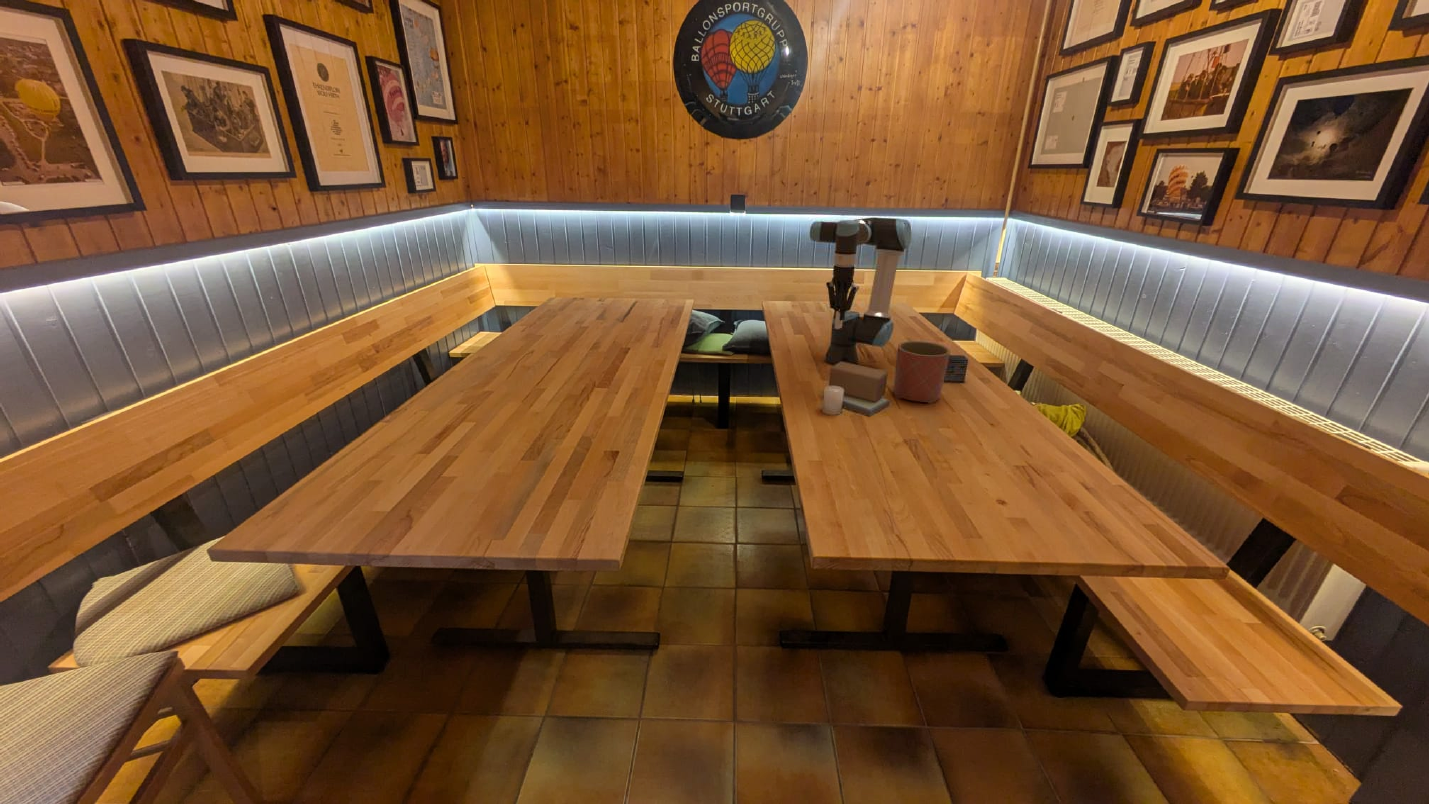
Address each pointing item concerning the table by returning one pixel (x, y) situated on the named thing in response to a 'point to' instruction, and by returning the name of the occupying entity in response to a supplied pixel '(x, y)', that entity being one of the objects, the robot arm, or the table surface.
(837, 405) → the white rounded cylinder
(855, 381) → the wooden block
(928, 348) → the planter
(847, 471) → the table surface
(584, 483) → the table surface
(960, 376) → the small box
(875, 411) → the grey rectangular slab
